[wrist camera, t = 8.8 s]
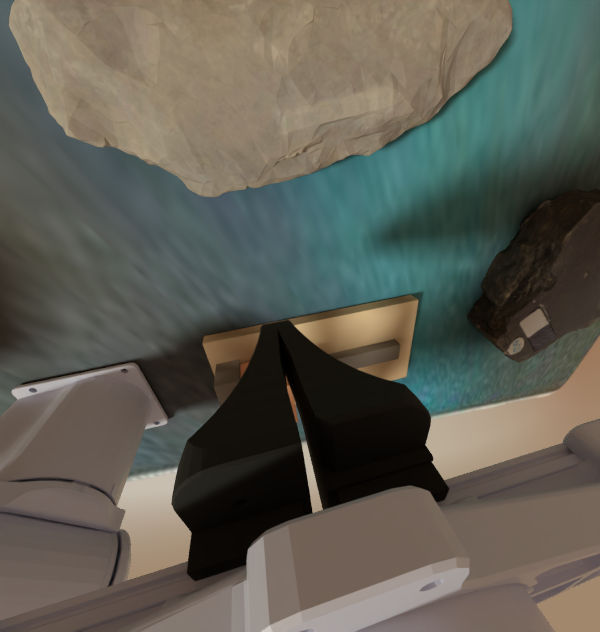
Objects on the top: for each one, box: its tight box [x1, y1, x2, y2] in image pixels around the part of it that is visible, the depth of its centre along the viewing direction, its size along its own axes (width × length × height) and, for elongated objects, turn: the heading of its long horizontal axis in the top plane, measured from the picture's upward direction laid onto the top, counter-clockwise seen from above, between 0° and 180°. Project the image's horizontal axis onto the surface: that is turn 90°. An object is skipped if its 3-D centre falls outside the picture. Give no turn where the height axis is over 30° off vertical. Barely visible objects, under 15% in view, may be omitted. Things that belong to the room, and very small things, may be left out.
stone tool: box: [9, 0, 512, 197], centre depth 13 cm, size 12×5×25 cm
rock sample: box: [467, 189, 600, 362], centre depth 25 cm, size 18×16×5 cm
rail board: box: [202, 295, 419, 405], centre depth 24 cm, size 20×10×4 cm, turn 95°
